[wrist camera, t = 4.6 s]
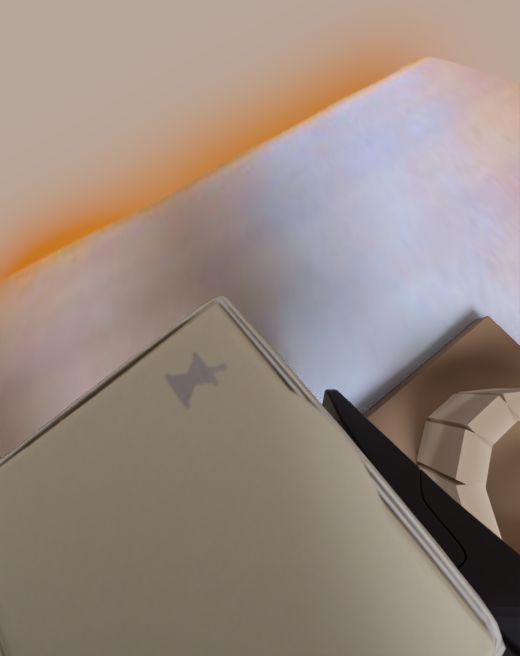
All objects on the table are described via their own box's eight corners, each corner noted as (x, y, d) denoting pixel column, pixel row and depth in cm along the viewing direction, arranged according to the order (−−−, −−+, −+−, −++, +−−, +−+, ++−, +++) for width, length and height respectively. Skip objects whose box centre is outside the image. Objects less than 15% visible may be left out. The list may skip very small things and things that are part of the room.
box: (208, 404, 15) (-87, 483, 3) (258, 363, 16) (211, 268, 3) (256, 472, 14) (134, 1268, 1) (308, 425, 14) (555, 669, 2)
